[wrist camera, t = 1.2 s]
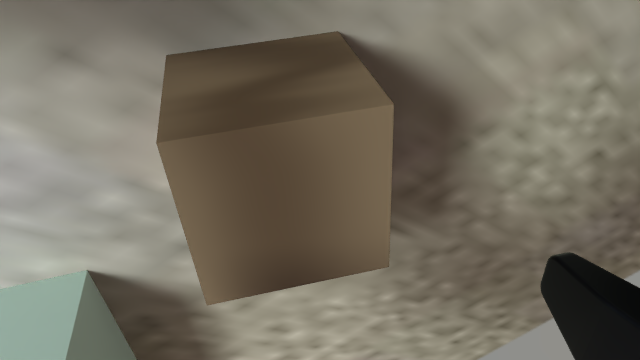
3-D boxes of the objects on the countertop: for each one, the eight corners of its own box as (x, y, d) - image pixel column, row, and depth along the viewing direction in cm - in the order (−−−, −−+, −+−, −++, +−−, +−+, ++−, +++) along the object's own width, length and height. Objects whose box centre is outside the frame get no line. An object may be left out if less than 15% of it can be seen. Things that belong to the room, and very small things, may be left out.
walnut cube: (337, 30, 14) (393, 104, 10) (343, 168, 17) (389, 266, 13) (166, 54, 14) (156, 142, 10) (202, 193, 17) (207, 305, 13)
